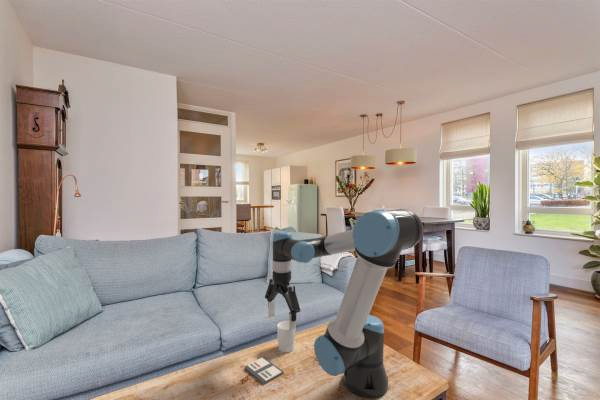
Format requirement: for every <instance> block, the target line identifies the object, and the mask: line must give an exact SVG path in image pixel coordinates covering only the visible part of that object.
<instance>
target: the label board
mask: <svg viewBox="0 0 600 400" xmlns="http://www.w3.org/2000/svg"><path fill="white" fill-rule="evenodd" d="M244 370H245V371H246V372H248V373H249V374H250V375H251V376H252V377H253V378H255V379H256V380H257V381H258V382H259V383H261V385H263V386H264V385H266V384H267V383H269V382H272V381H273V380H275V379H276V378H278V377H280V376H282V375H284V374H285V373H284V370H282V369H281V368H279V366H277V365H275V364H274V363H273V362H271V361H270V360H268V359H267V358H266V357H260V358H259V359H256V360H255V361H252V362H250V363H248V364H246V366H244Z"/></svg>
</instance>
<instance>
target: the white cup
mask: <svg viewBox="0 0 600 400" xmlns="http://www.w3.org/2000/svg"><path fill="white" fill-rule="evenodd" d="M276 325H277V326H276V327H277V328H276V329H277V343H278V351H280V352H282V353H291V352H292V351H293V352H294V350H295V344H296V343H295V342H296V330H297V329H296V328H297V324H295V328H294V329H291V330H289V320H284V321H280V322H278V323H277V324H276Z"/></svg>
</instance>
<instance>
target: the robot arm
mask: <svg viewBox="0 0 600 400" xmlns="http://www.w3.org/2000/svg"><path fill="white" fill-rule="evenodd" d="M352 228H353V229H348V230H345V231H342V232H341V231H340V232H337V233H333V234H330V235H324V236H320V237H316V238H305V239H299V240H298V239H294V238H293V236H292V235H293V234H292V232H290V231H276V232H275V231H274V233H273V234H272V243H271V244H272V267H271V268H272V275H271V276H272V277H271V278H269V281H268V287H267V289H266V292H265V294H264V295H265V296H264V299H266V301H267V308H268V312H267V313H268V315H267V317H268V319H271V318H273V317H275V316H276V315H275V314H276V313H275V312H276V310H275V309H276V308H275V307H276V305H275V304H276V302H275V301H276V300H275V298H276V297H277V295H278V294H280V295H282V297H283V298H284V300H285V302H286V304H287V307H288V309H289V312H288V321H289V330H291V329H294V328H295V324H296V322H297V313H300V312H301V308H300V304H299V301H298V300H299V299H298V296H297V292H296V286H295V285H290V282H291V280H292V261H296V262H298V263H303V264H306V263H309V262H310V261H312V260H313V259H315V258H320V257H326V256H331V255H332V256H333V255H336V254H342V253H349V252H355V254H356V256H357V258H356V261H355V263H354V266H353V269H352V272H351V273H350V277H349V280H348V284H347V285H346V289H345V292H344V294H343V297H342V299H341V303H340V305H339V308H338V311H337V313H336V314H337V315H336V316H335V317H334V318H332V319H331V320H330V321H329V322H328V324H327V327H326V330H325V332H324V334H323V335H321V334H320V335H319V336H318V337H316V339H315V341H314V344H313V349H314V355H315V357H316V360H317V362H318V364H319V366H320V367H321V369H322V370H323V371H324V372H325V373H327V374H328V375H329V376H334V377H336V376H339V375H343V384H344V386H345V387H346V388H347V389H348V390H349V392H351V393H352V394H355V395H357V396H360V397H363V398H367V399H368V398H370V399H374V398H375V399H376V398H378V397H382V396H384V395H385V394H386V393H387V392H388V390H389V377H388V375H387V372H386V371H387V370H386V367H385V365H384V345H385V344H384V342H385V341H384V340H385V326H384V322H383V321H382V320H381V319H380V318H378V317H376V316H375V315H373V314H372V315H371V314H370V312H371V311H372V308H373V306H374V303H375V300H376V298H377V295H378V293H379V291H380V288H381V286H382V284H383V281H384V278H385V275H386V274H387V270H388V269H392V268H393V267H395V266H396V264H397V262H398V259H399V257H400V254H401V252H402V251H404V250H405V251H406V250H407V249H411V248H413V247H415V246H417V244H418V243H419V242H420V241H421V240H422V239H423V235H424V224H423V222H422V220H421V218H420V217H419V216H418V215H417V214H416V213H415V212H413V211H411V210H409V209H406V208H405V209H404V208H398V209H397V208H396V209H375V210H374V209H373V211H368V212H365V213H363V214H362V215H360V217H358V218H357V219H356V221H355V223H354V225H353V227H352ZM296 325H297V324H296Z"/></svg>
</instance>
